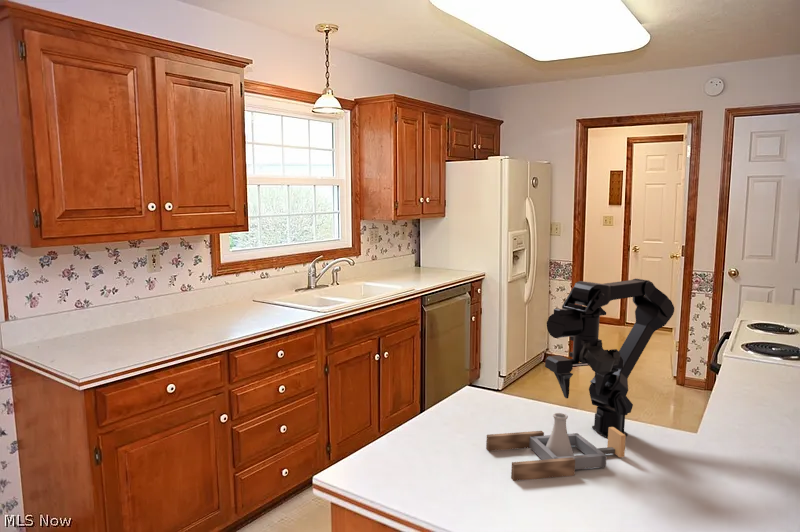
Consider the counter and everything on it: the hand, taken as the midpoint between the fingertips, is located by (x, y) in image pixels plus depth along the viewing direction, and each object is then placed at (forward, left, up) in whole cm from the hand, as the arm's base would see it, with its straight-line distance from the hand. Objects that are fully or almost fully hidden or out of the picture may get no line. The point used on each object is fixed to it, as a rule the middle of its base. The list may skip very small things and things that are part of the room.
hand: (582, 396), depth 142 cm
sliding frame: (+5, +9, -11) cm, 15 cm away
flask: (+10, +8, -11) cm, 17 cm away
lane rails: (+18, +9, -11) cm, 23 cm away
